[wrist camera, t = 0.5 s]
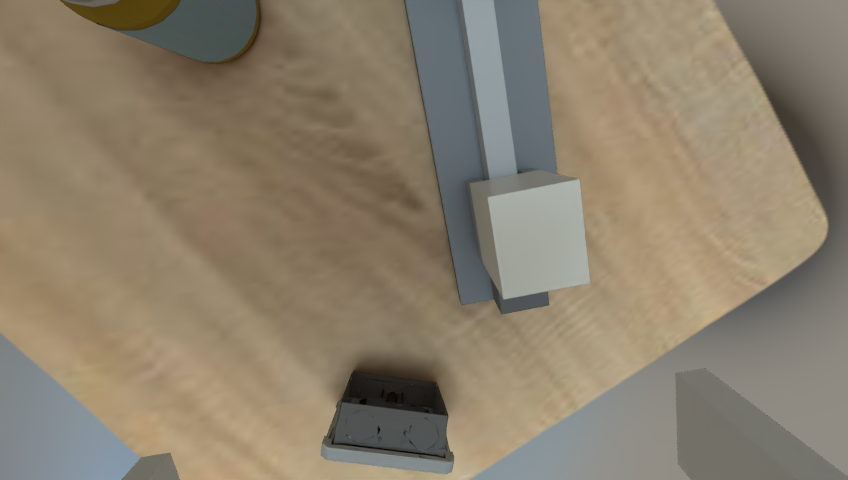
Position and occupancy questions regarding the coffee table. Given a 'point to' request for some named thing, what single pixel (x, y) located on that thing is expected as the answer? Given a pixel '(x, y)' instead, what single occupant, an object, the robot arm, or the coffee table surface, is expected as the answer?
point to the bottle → (180, 24)
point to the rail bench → (461, 120)
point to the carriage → (530, 231)
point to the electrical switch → (390, 425)
